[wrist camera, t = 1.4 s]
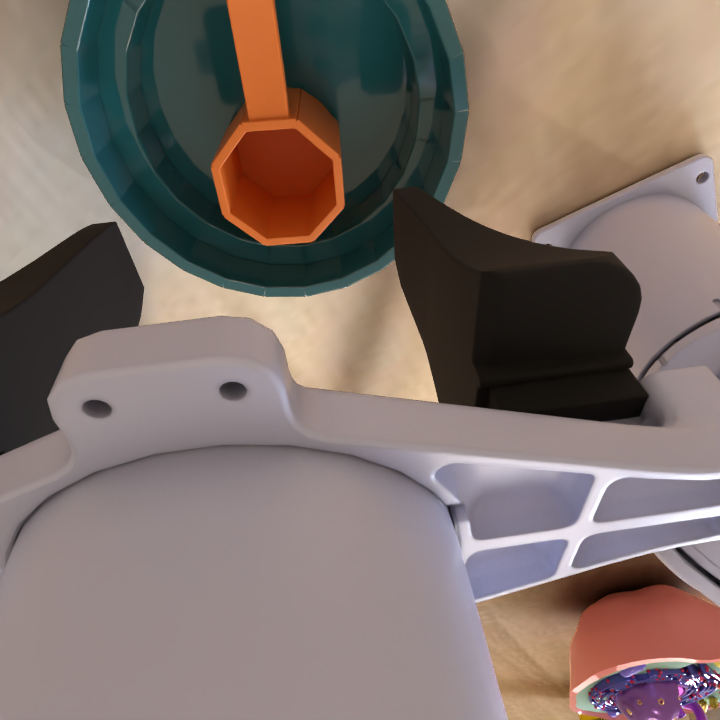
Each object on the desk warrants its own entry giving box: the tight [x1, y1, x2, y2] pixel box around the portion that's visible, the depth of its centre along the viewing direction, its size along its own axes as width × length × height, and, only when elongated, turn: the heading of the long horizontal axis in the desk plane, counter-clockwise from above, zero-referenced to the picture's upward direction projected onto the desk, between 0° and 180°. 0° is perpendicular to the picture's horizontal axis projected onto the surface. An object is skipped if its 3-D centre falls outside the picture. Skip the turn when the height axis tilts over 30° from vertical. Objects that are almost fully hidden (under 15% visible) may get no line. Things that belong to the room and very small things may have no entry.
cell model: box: [569, 585, 720, 720], centre depth 48 cm, size 17×20×11 cm
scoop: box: [211, 0, 345, 246], centre depth 18 cm, size 8×4×4 cm, turn 3°
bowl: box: [60, 0, 469, 297], centre depth 19 cm, size 13×13×4 cm
